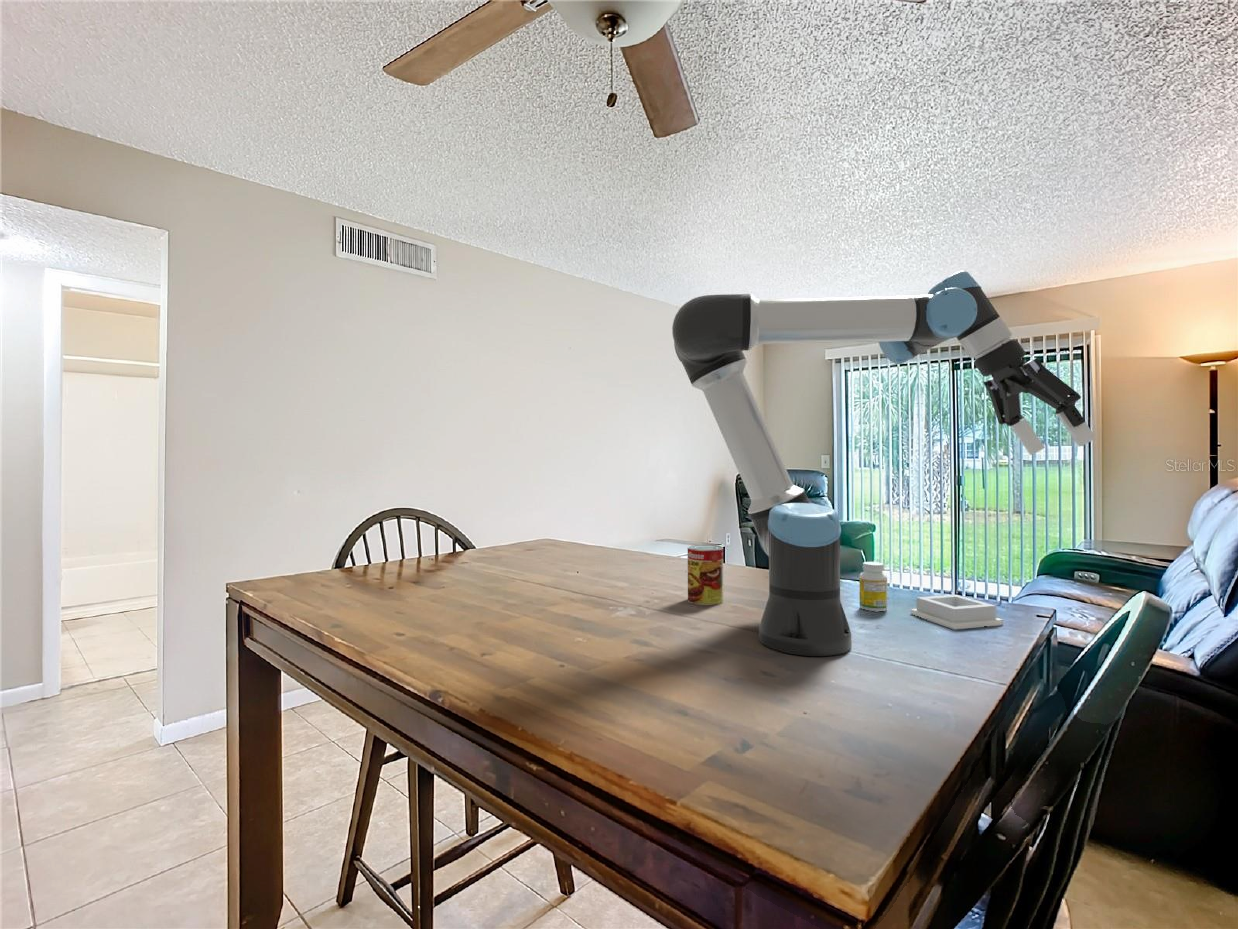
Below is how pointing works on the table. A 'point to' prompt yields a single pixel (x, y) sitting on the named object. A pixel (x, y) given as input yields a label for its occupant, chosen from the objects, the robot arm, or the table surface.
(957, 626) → the socket collar
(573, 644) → the table surface
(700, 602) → the canned food
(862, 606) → the supplement bottle
